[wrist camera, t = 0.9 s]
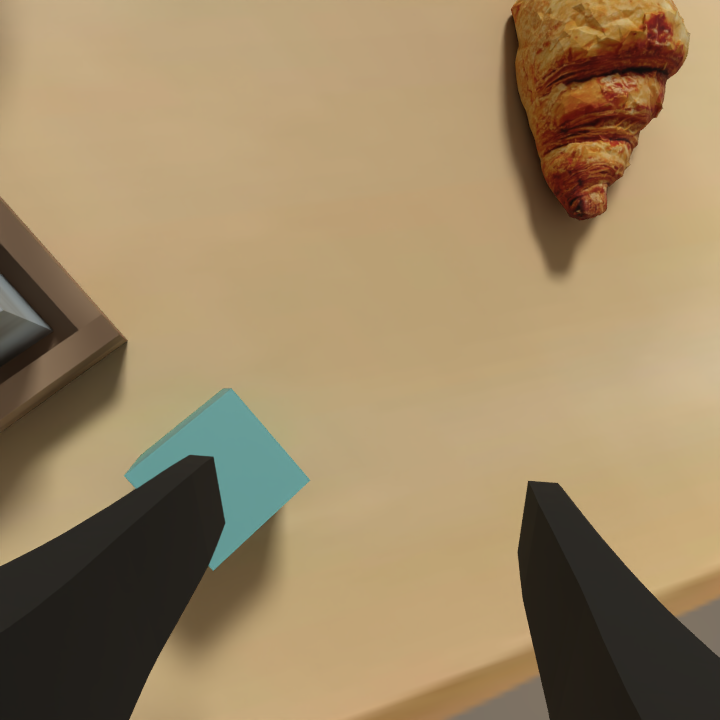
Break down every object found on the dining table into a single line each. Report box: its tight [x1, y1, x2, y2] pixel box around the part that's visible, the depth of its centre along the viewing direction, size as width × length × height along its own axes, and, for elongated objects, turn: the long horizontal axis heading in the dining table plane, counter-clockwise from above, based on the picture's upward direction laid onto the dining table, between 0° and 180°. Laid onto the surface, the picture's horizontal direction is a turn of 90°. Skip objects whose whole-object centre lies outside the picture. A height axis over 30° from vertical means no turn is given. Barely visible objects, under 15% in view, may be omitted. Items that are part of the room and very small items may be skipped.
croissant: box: [511, 0, 690, 220], centre depth 28 cm, size 21×10×8 cm, turn 174°
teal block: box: [124, 388, 310, 571], centre depth 20 cm, size 4×4×6 cm
